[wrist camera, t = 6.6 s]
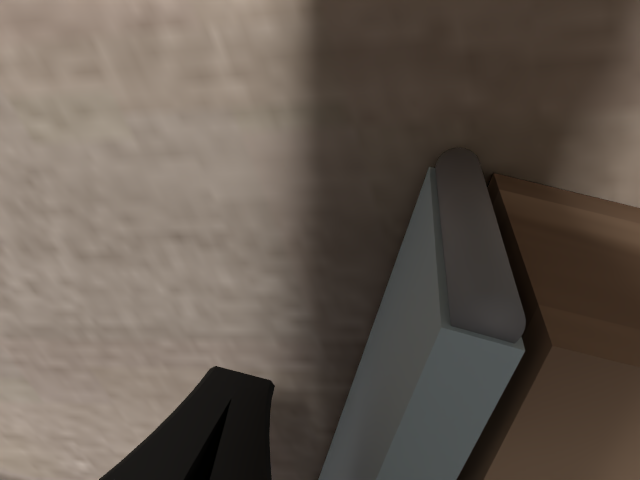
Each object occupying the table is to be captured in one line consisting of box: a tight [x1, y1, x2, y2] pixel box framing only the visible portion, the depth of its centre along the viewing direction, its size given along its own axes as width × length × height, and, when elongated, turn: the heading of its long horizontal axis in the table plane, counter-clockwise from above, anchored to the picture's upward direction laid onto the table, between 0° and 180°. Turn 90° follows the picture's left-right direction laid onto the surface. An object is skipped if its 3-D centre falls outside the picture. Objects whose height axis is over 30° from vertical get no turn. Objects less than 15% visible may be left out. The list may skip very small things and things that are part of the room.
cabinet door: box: [318, 148, 526, 480], centre depth 14 cm, size 16×2×6 cm, turn 166°
